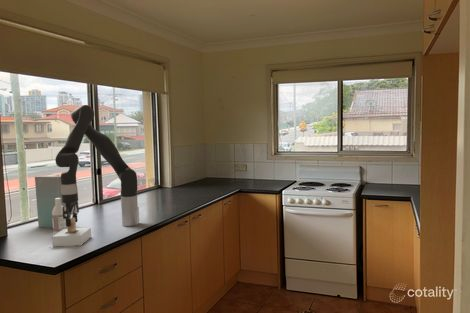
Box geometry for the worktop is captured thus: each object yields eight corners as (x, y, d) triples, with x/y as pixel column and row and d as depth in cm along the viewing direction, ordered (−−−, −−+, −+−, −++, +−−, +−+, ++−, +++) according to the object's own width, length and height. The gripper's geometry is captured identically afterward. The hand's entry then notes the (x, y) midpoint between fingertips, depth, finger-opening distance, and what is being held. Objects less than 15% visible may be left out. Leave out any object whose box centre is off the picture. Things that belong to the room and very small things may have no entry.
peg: (78, 240, 197) (76, 217, 196) (75, 242, 193) (73, 219, 192) (70, 240, 196) (68, 217, 195) (67, 243, 192) (65, 219, 191)
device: (70, 224, 229) (67, 175, 226) (61, 228, 222) (57, 176, 219) (48, 223, 234) (44, 174, 231) (38, 226, 226) (34, 176, 224)
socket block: (91, 237, 202) (90, 227, 201) (81, 245, 188) (80, 235, 187) (64, 238, 201) (63, 228, 201) (52, 246, 187) (51, 236, 187)
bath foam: (53, 233, 210) (51, 197, 208) (67, 232, 213) (64, 196, 211) (53, 237, 204) (50, 200, 202) (67, 235, 206) (65, 198, 205)
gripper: (71, 195, 185) (74, 227, 187) (82, 189, 199) (84, 220, 201) (56, 195, 185) (58, 228, 186) (67, 190, 199) (70, 221, 201)
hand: (72, 224), depth 194 cm, fingers open, 8 cm apart
